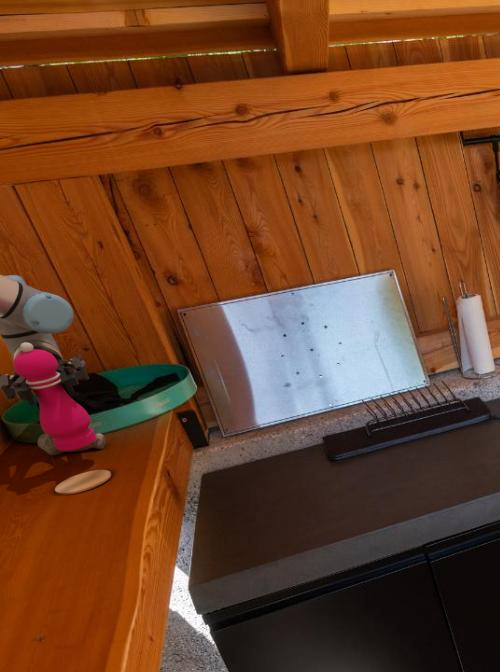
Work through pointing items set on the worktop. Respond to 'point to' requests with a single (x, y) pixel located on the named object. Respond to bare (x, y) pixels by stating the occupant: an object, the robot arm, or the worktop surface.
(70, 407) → the pepper mill
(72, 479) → the cork mat
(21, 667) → the worktop surface
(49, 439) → the stone
